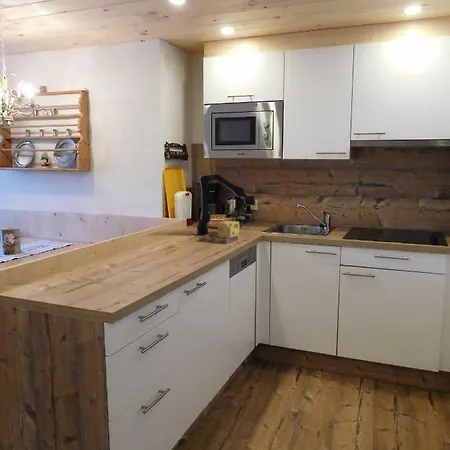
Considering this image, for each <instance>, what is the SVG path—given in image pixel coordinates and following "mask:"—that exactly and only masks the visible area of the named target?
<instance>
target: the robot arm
mask: <svg viewBox="0 0 450 450" xmlns="http://www.w3.org/2000/svg"><path fill="white" fill-rule="evenodd" d="M198 181H199V185H200V189H201V211H200V212H201V213H200V216H199V217H200V218H199V219H198V220H197V225H196V229H197V230H196V231H197V232H196V234H195V235H197V236H204V235H207V234H210V233H209V228H208V224H209V223H210V221H211V220H212V218H211V212H210V211H209V204H208V186H209V182H213V181H218V182H219V183H220V184H222V185H223V186H225V187H226V188H228V189H229V190H230V191H232V192H233V194H234V196H233V197H232V200H233V201H234V204H235V205H234V207H233V211H232V212H228V213H225V218H226V219H230V218H232V219H233V220H234V222H239V227H240V228H239V230H241V228H242V226H243V224H244V222H245V220H252V219H254V214H253V213H246V214H245V206H246V207H247V206H248V207H249V206H255V205H256V199H255V195H254V194H253V195H247V194H246V193H245V190H244V188H243V187H240V186H238V185H235V184H233V183H232V182H230V181H229V180H227V179H226V178H224V177H223V176H222V175H220V174H219V173H213V174H209V175H206V174H202V175H200V176H199V180H198ZM244 205H245V206H244Z"/></svg>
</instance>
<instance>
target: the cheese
mask: <svg viewBox="0 0 450 450" xmlns="http://www.w3.org/2000/svg"><path fill="white" fill-rule="evenodd" d="M239 228H240V227H239V222H236V221H235V220H234V221H233V220H232V221H230V220H224V221H220V222H219V221H218V222H217V237H218V238H219V239H228V238H231V237H233V236H238V238H239V237H240V229H241V228H240V229H239Z"/></svg>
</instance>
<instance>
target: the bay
mask: <svg viewBox="0 0 450 450" xmlns="http://www.w3.org/2000/svg"><path fill="white" fill-rule="evenodd" d="M238 240H239V237H238V236H233V237H231V238H228V239H227V238H220V237H218V238H216V237H213V233H209V234H207V235H200V236H199V237H198V241H199V242H205V243H215V244H225V245H228V244H231V243H234V242H235V241H238Z"/></svg>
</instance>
